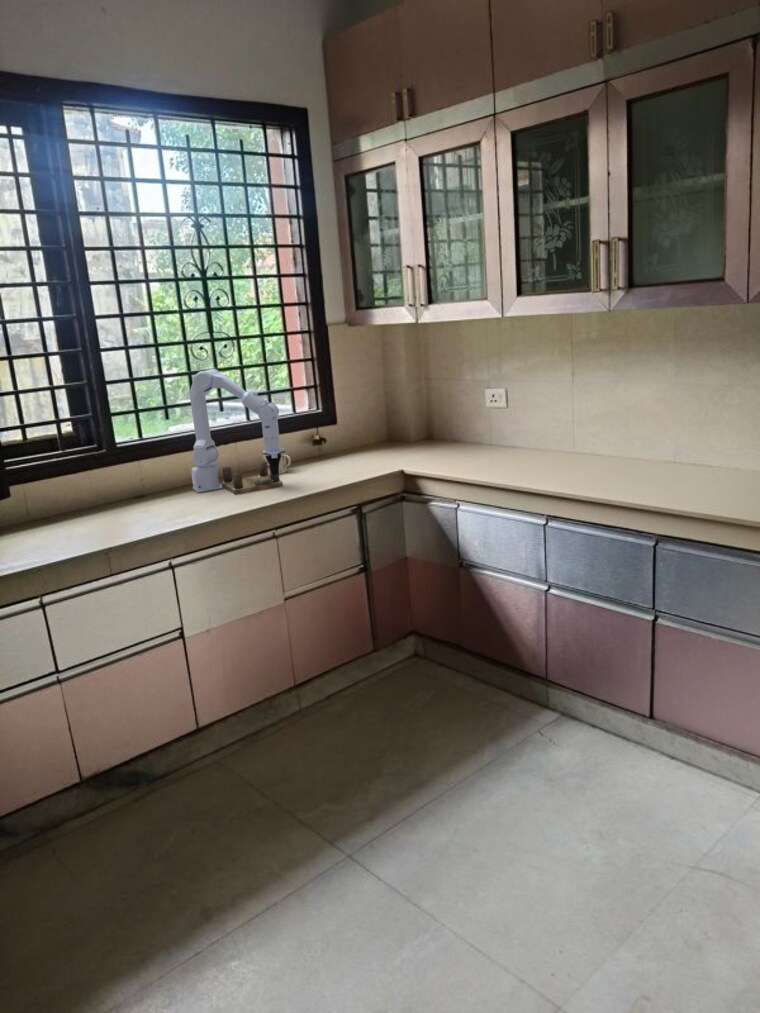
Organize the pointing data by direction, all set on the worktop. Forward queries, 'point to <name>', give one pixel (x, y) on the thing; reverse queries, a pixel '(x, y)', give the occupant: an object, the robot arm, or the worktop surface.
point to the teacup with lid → (281, 464)
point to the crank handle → (273, 479)
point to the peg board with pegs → (247, 480)
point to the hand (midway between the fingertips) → (275, 474)
